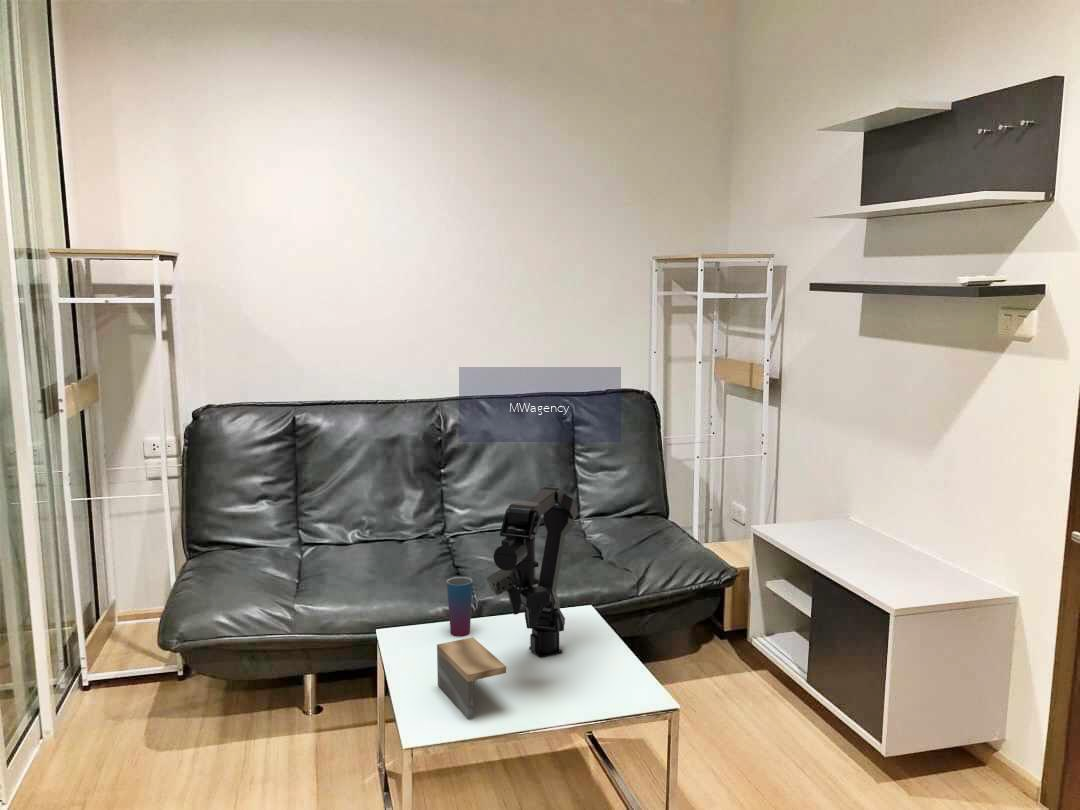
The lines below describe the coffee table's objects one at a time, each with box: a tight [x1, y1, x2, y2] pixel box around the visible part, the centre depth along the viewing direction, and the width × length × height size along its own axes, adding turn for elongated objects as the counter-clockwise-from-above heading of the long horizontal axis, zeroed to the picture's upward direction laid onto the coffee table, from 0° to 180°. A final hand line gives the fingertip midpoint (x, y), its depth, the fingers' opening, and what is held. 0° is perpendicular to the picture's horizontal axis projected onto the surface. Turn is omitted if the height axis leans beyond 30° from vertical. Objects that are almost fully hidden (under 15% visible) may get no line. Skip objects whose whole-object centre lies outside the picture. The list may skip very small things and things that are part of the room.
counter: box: [436, 636, 507, 721], centre depth 191 cm, size 9×18×10 cm, turn 28°
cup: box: [446, 576, 474, 638], centre depth 226 cm, size 7×7×15 cm
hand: (523, 621), depth 201 cm, fingers open, 9 cm apart
